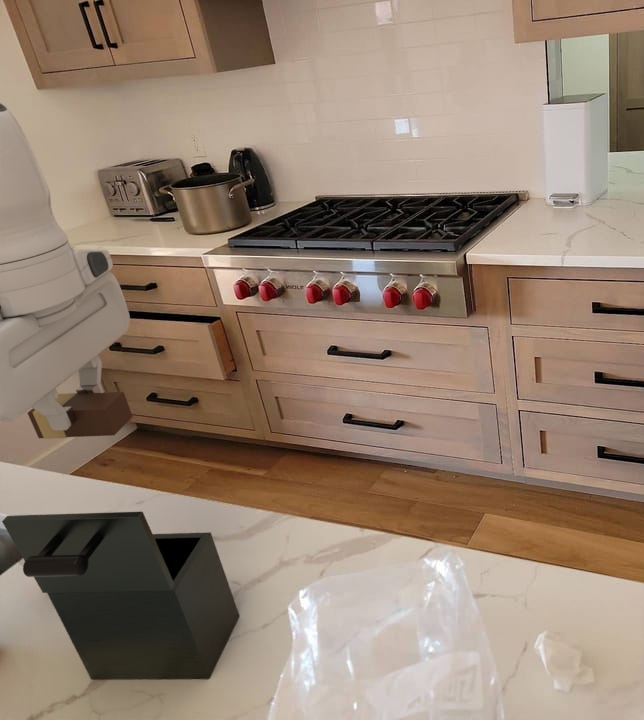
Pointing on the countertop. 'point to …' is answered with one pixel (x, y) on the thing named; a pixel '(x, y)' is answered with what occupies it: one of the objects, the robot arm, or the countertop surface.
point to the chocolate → (87, 415)
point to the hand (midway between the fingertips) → (80, 413)
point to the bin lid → (90, 552)
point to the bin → (156, 618)
